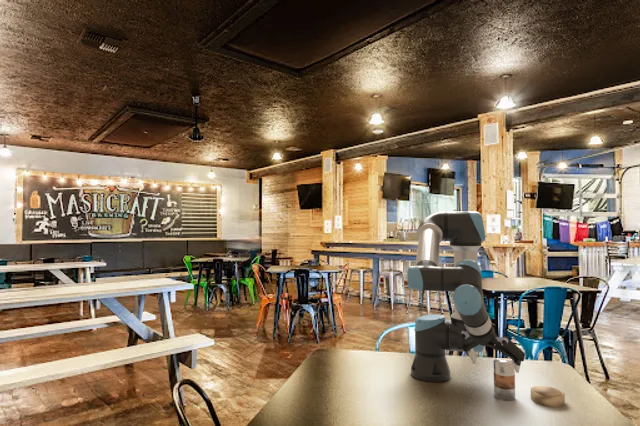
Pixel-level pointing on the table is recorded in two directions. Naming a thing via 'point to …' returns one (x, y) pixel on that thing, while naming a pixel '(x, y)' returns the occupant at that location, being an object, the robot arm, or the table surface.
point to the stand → (547, 396)
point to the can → (504, 379)
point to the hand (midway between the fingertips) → (495, 364)
